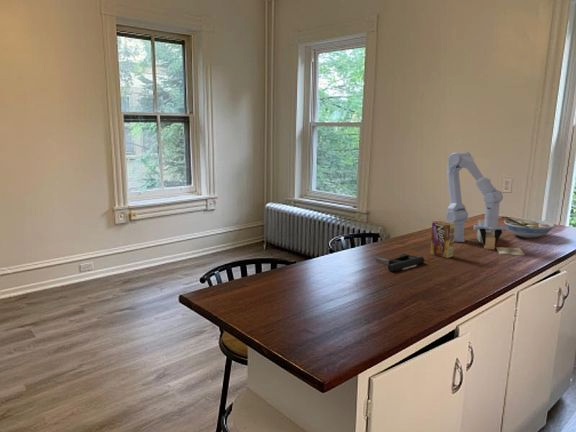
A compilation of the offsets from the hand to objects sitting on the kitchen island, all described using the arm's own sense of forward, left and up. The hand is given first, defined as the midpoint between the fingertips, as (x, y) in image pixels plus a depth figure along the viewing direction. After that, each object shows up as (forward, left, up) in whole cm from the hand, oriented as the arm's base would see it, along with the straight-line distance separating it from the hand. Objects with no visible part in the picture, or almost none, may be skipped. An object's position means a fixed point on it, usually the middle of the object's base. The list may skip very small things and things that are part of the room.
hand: (489, 245), depth 204 cm
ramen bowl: (+22, +28, -2) cm, 36 cm away
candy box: (-22, -18, -2) cm, 28 cm away
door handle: (-41, -36, -2) cm, 54 cm away
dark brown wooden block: (0, +15, -1) cm, 15 cm away
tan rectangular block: (0, 0, -1) cm, 1 cm away
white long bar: (0, +16, +5) cm, 17 cm away
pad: (+8, -5, -1) cm, 10 cm away
